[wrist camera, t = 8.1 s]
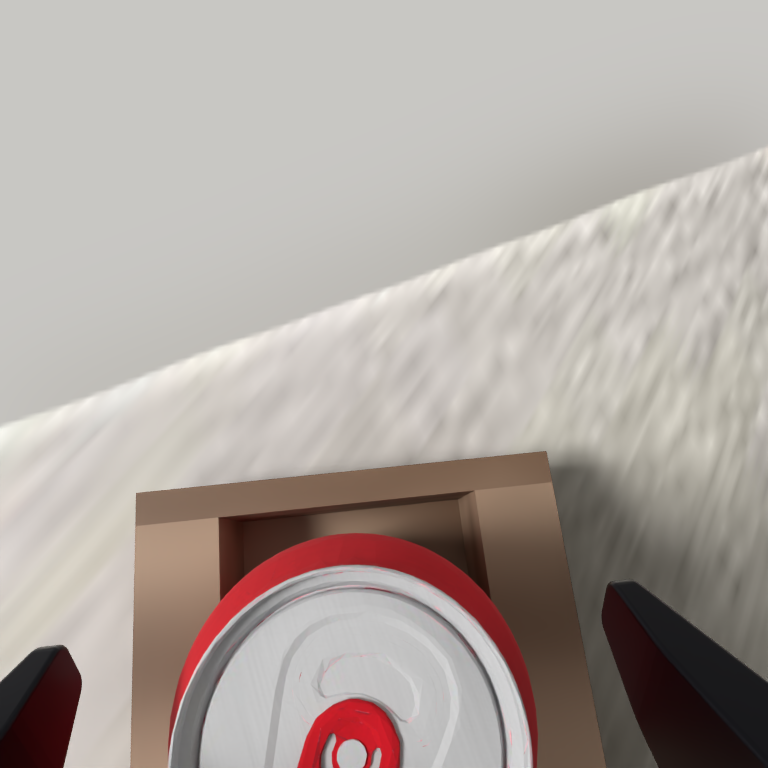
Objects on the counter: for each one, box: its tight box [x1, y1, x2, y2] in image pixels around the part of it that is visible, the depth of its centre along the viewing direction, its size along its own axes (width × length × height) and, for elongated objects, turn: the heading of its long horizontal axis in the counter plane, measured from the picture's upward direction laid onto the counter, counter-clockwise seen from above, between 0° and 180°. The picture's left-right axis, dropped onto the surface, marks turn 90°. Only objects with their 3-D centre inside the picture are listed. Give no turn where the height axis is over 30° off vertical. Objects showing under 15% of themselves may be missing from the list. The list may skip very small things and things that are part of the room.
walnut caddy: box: [130, 451, 606, 768], centre depth 17 cm, size 15×13×4 cm
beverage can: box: [168, 533, 538, 768], centre depth 13 cm, size 6×6×12 cm
